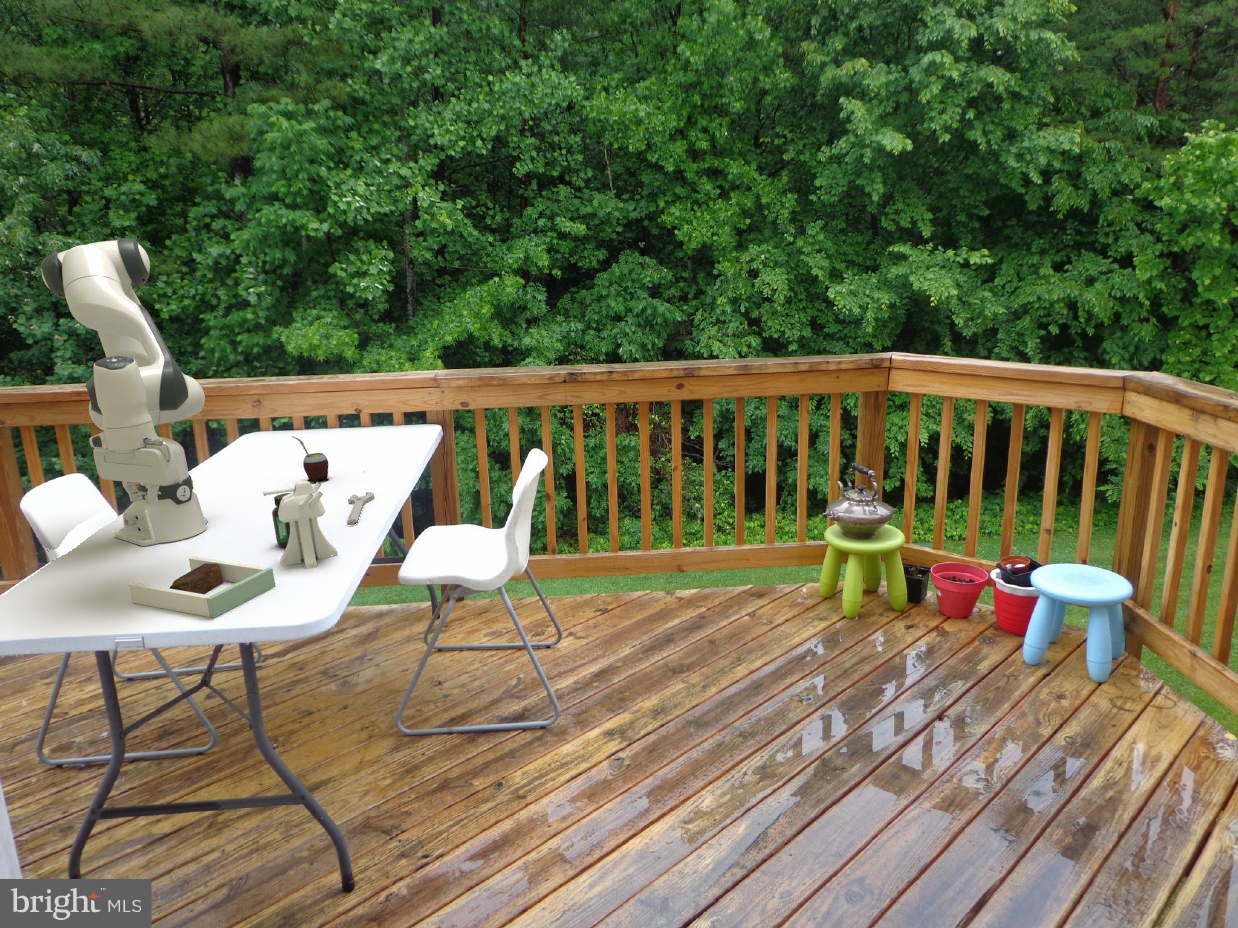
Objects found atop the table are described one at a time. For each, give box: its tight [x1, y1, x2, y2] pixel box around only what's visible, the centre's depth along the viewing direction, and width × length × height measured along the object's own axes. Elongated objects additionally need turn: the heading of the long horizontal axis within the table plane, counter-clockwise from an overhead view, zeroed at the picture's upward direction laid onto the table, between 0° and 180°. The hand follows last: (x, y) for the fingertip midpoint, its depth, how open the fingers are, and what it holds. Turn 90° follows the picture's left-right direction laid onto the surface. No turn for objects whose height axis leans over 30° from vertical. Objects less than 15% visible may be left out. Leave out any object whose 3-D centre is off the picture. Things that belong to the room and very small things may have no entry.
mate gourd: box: [291, 435, 329, 485], centre depth 256 cm, size 8×8×15 cm
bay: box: [128, 556, 276, 619], centre depth 179 cm, size 23×16×4 cm
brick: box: [168, 563, 224, 595], centre depth 180 cm, size 11×4×5 cm, turn 164°
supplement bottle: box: [271, 492, 292, 549], centre depth 205 cm, size 7×7×12 cm
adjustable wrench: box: [346, 491, 375, 526], centre depth 228 cm, size 25×6×2 cm, turn 5°
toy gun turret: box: [262, 480, 339, 569], centre depth 194 cm, size 12×13×18 cm
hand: (144, 501), depth 179 cm, fingers open, 3 cm apart
